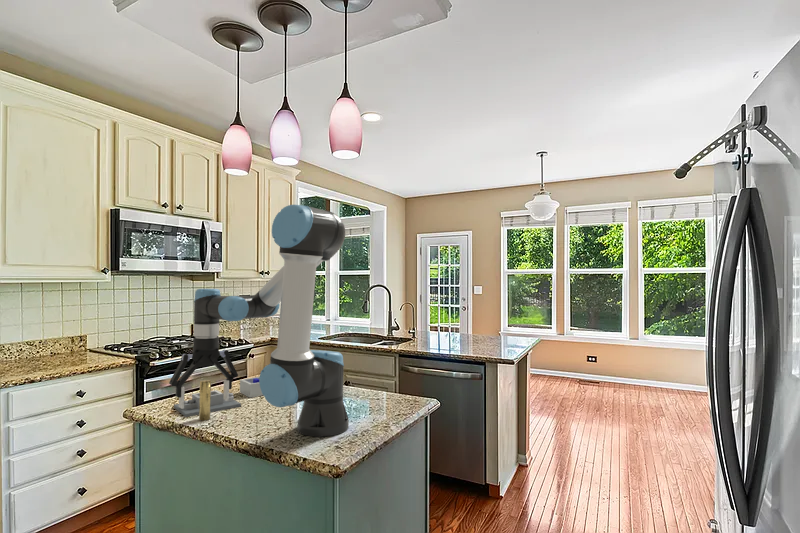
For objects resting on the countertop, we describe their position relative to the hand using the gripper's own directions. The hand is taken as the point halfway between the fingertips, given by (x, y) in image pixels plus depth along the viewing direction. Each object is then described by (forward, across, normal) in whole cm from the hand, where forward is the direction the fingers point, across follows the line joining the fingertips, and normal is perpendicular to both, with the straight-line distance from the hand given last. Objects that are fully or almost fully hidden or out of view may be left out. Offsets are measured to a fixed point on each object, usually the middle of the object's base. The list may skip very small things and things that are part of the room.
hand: (204, 403), depth 137 cm
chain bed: (+5, -5, -13) cm, 14 cm away
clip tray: (+5, -30, -20) cm, 36 cm away
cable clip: (+5, -30, -19) cm, 36 cm away
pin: (+5, 0, 0) cm, 5 cm away
